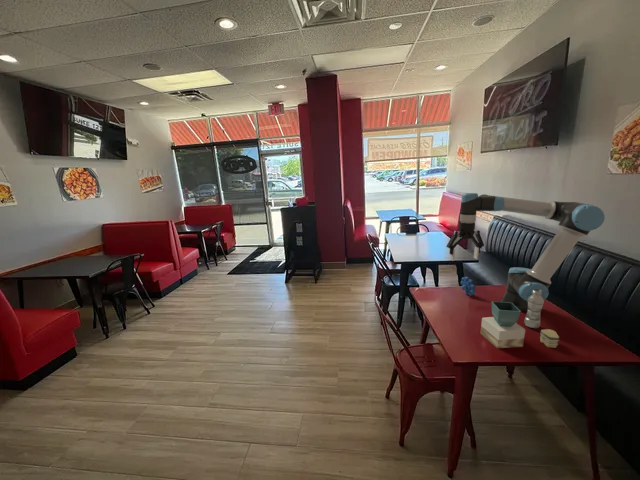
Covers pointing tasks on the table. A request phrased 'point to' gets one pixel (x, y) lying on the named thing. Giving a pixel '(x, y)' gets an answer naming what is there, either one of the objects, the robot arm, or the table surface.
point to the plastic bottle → (534, 309)
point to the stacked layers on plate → (549, 338)
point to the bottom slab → (501, 343)
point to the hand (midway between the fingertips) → (464, 259)
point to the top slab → (502, 329)
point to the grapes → (468, 286)
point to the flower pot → (505, 313)
